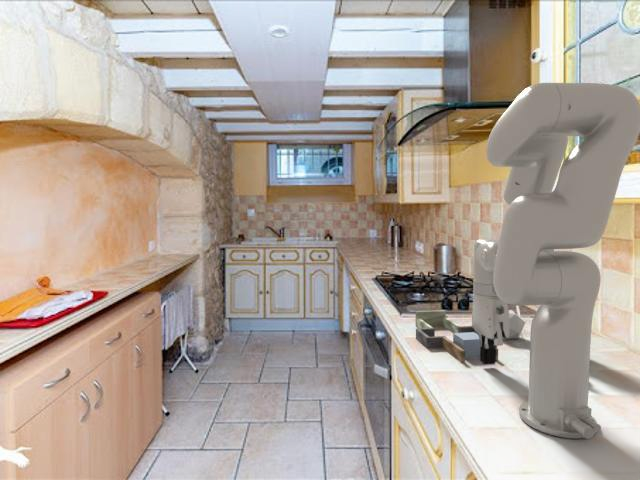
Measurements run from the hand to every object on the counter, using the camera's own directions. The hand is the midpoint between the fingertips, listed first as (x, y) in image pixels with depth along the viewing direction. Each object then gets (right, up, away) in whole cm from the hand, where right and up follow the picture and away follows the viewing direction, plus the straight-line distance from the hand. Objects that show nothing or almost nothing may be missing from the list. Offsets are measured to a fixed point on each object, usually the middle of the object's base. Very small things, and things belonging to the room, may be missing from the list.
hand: (487, 362), depth 103 cm
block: (-1, -1, +10) cm, 10 cm away
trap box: (-3, 0, +20) cm, 20 cm away
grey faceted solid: (+15, +1, +23) cm, 28 cm away
